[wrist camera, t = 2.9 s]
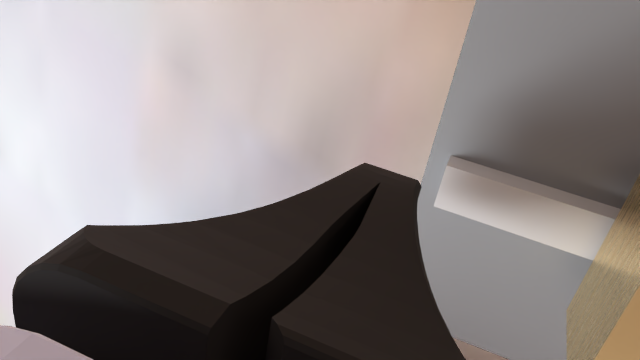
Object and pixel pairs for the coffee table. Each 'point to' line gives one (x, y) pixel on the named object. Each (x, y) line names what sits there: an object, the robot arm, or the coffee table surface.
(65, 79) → the coffee table surface
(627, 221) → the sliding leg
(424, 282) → the robot arm
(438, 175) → the pitch plate
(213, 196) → the coffee table surface
